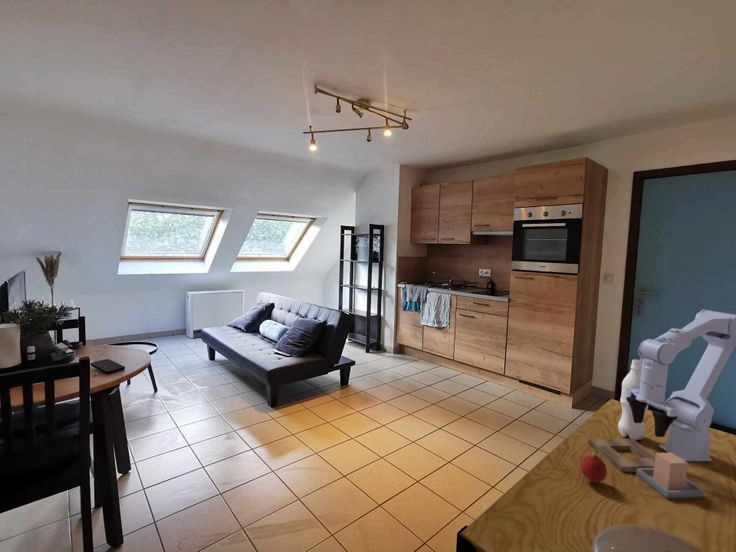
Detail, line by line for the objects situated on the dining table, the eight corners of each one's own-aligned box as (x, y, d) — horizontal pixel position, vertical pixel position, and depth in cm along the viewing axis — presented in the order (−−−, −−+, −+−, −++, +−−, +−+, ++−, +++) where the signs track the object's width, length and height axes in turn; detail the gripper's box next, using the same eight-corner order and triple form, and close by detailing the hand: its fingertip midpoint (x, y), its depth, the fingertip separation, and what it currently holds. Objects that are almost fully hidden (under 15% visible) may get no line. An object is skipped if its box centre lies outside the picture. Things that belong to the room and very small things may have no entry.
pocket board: (631, 443, 116) (631, 438, 116) (670, 471, 102) (670, 465, 102) (588, 443, 115) (588, 439, 115) (621, 471, 101) (621, 466, 101)
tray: (669, 473, 101) (670, 467, 101) (703, 498, 91) (704, 491, 91) (636, 474, 100) (636, 468, 100) (666, 499, 91) (667, 492, 90)
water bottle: (639, 433, 122) (647, 359, 120) (648, 444, 116) (656, 366, 113) (614, 429, 125) (621, 356, 122) (621, 439, 118) (628, 363, 115)
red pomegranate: (598, 476, 99) (600, 447, 98) (610, 490, 93) (613, 460, 93) (575, 474, 100) (577, 445, 99) (585, 488, 94) (588, 458, 93)
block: (669, 477, 98) (671, 452, 97) (684, 489, 94) (687, 462, 93) (652, 478, 98) (655, 452, 97) (667, 489, 93) (670, 463, 93)
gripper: (620, 373, 111) (616, 417, 113) (661, 393, 97) (656, 443, 98) (642, 373, 112) (638, 416, 113) (686, 393, 98) (681, 442, 99)
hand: (648, 429), depth 106 cm, fingers open, 7 cm apart
